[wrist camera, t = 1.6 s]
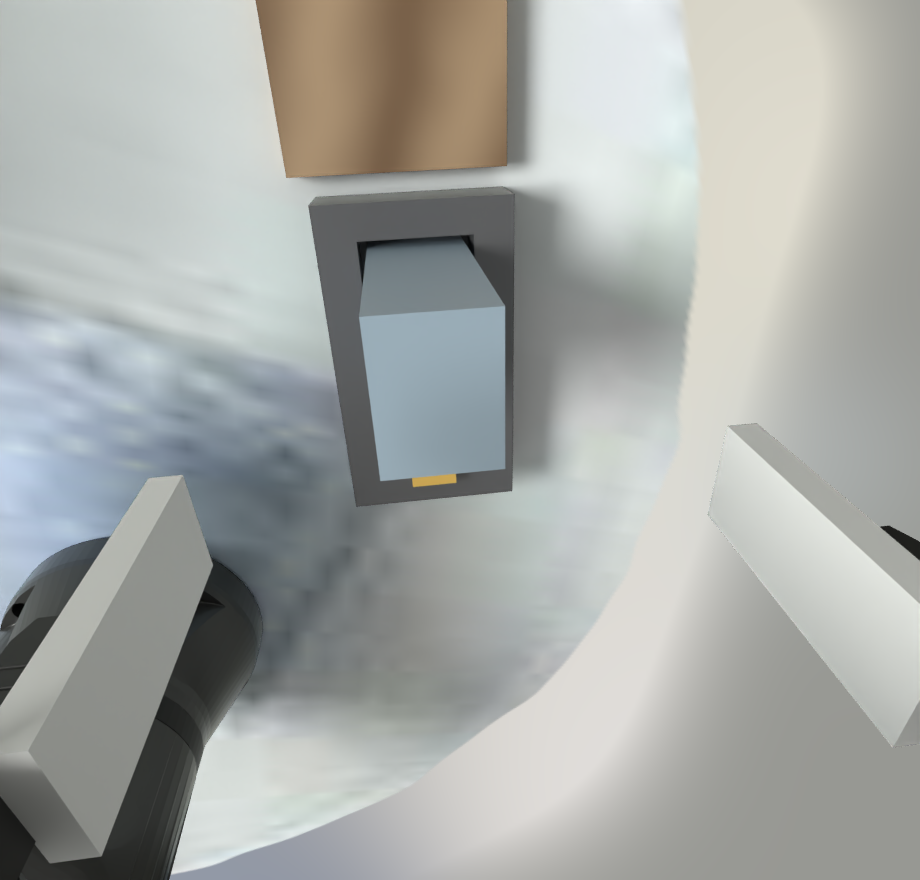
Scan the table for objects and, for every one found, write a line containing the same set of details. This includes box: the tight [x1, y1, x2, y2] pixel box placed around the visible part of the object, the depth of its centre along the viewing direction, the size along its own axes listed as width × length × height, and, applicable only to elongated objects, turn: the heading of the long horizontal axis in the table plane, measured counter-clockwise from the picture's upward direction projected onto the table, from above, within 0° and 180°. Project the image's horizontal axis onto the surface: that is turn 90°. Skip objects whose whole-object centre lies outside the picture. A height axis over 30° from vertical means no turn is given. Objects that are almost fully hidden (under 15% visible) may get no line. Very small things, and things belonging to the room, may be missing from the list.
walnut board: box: [256, 0, 507, 178], centre depth 24 cm, size 10×10×1 cm
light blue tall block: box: [359, 235, 505, 481], centre depth 24 cm, size 4×6×12 cm
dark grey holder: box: [309, 187, 514, 507], centre depth 30 cm, size 9×16×4 cm, turn 2°
